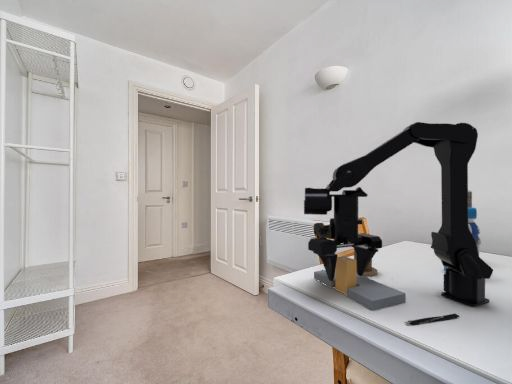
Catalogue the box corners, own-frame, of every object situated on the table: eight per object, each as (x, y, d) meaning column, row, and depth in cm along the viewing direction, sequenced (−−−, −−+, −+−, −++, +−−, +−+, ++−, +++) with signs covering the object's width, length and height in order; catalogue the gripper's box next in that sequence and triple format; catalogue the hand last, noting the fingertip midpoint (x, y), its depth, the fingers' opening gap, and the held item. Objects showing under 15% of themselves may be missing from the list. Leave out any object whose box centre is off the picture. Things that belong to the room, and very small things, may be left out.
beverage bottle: (436, 272, 75) (436, 206, 75) (454, 269, 78) (454, 206, 78) (468, 281, 67) (469, 208, 67) (487, 277, 70) (487, 207, 70)
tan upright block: (356, 293, 60) (356, 260, 60) (346, 295, 59) (346, 261, 58) (344, 287, 63) (344, 256, 63) (335, 288, 62) (335, 257, 62)
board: (405, 302, 55) (405, 293, 55) (372, 310, 51) (372, 301, 51) (341, 274, 73) (341, 267, 73) (314, 278, 69) (314, 271, 69)
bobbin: (383, 274, 73) (383, 244, 73) (363, 278, 70) (363, 246, 70) (362, 266, 80) (362, 239, 80) (343, 269, 77) (343, 241, 77)
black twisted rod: (408, 328, 45) (408, 322, 45) (403, 325, 46) (403, 319, 46) (459, 320, 48) (459, 314, 48) (454, 317, 49) (454, 312, 49)
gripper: (350, 211, 72) (350, 264, 72) (296, 213, 65) (295, 272, 65) (383, 214, 62) (383, 277, 62) (323, 217, 54) (322, 288, 54)
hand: (345, 278), depth 61 cm, fingers open, 9 cm apart
